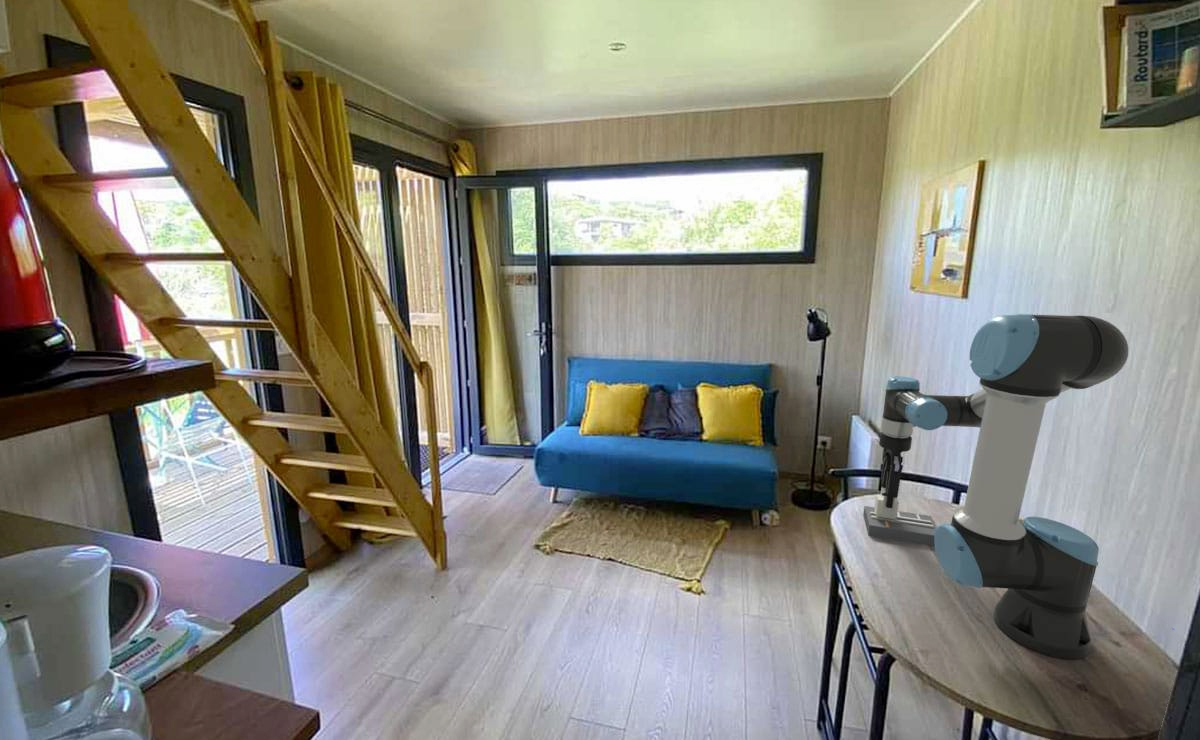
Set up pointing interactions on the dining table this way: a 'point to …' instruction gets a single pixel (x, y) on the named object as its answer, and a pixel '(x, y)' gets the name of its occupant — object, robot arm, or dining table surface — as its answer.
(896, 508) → the fader knob
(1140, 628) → the dining table surface
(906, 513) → the fader console
